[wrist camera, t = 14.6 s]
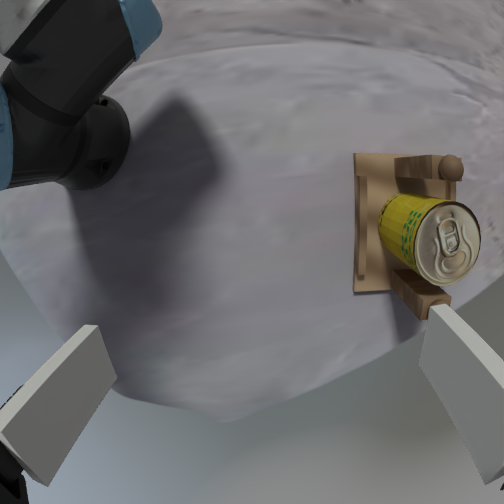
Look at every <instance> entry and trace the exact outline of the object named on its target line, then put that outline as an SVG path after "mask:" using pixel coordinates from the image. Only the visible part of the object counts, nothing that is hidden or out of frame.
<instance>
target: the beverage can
mask: <svg viewBox="0 0 504 504" xmlns="http://www.w3.org/2000/svg"><path fill="white" fill-rule="evenodd" d="M378 233H379V237H380V240H381V242H382V243H383V245H384V246H385V247H386V248H387V249H388V250H389V251H390V252H391V253H392V254H394V255H395V256H396V257H397V258H399V259H400V260H401V261H403V262H404V263H405V264H406V265H408V266H409V267H410V268H412V269H413V270H414V271H415V272H417V273H418V274H419V275H420V276H422V277H423V278H424V279H425V280H426V281H428V282H430V283H432V284H433V285H437V286H449V285H453V284H455V283H457V282H459V281H460V280H461V279H463V278H464V277H465V276H466V275H467V274H468V273H469V271H470V270H471V269H472V268H473V266H474V264H475V262H476V260H477V257H478V254H479V250H480V243H481V234H480V227H479V224H478V221H477V219H476V217H475V215H474V214H473V212H472V211H471V210H470V209H469V208H468V207H466V206H465V205H464V204H461V203H458V202H455V201H451V200H446V199H441V198H437V197H432V196H427V195H422V194H416V193H411V192H402V193H399V194H396V195H394V196H393V197H391V198H390V199H389V200H388V201H387V202H386V203H385V204H384V206H383V208H382V210H381V212H380V214H379V219H378Z"/></svg>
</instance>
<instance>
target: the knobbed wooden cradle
mask: <svg viewBox="0 0 504 504" xmlns="http://www.w3.org/2000/svg"><path fill="white" fill-rule="evenodd" d="M353 155H354V181H355V247H354V274H353V290H354V292H360V291H377V290H392V289H393V290H394V291H395V292H396V293H397V294H398V296H399V297H400V298H401V299H402V300H403V301H404V302H405V303H406V305H407V306H408V307H409V308H410V309H411V310H412V312H413V313H414V314H415V315H416V316H417V317H418V319H419V320H427V319H428V316H429V310H430V306H435V305H441V304H447V305H448V306H449V307H450V303H451V298H452V297H451V296H450V295H448V294H447V293H446V292H445V291H443V290H442V289H441V288H440V287H439V286H437V285H433V284H432V283H430V282H428V281H426V280H425V279H424V278H423V277H422V276H420V275H419V274H418V273H417V272H415V271H414V270H413V269H412V268H410V267H409V266H408V265H406V264H405V263H404V262H403V261H401V260H400V259H399V258H397V257H396V256H395V255H394V254H392V253H391V252H390V251H389V250H388V249H387V248H386V247H385V246H384V245H383V243H382V242H381V240H380V237H379V233H378V219H379V214H380V212H381V210H382V208H383V206H384V204H385V203H386V202H387V201H388V200H389V199H390V198H391V197H393V196H394V195H396V194H399V193H402V192H411V193H416V194H422V195H427V196H432V197H437V198H441V199H446V200H451V201H455V202H456V181H462V176H463V172H464V168H463V164H462V162H461V158H458V157H456V156H454V155H446V156H438V155H423V156H411V155H396V154H376V153H353Z"/></svg>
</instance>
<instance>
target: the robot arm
mask: <svg viewBox="0 0 504 504" xmlns="http://www.w3.org/2000/svg"><path fill="white" fill-rule="evenodd" d="M161 32H162V20H161V17H160V14H159V12H158V10H157V9H156V7H155V5H154V4H153V2H152V1H151V0H0V53H1V54H2V55H3V56H5V57H7V58H9V59H11V62H10V64H9V65H8V66H7V68H6V69H5V71H4V72H3V74H2V75H1V77H0V191H2V190H5V189H9V188H14V187H20V186H26V185H32V184H38V183H45V182H52V181H54V182H56V183H59V184H61V185H63V186H66V187H68V188H71V189H75V190H86V189H92V188H96V187H99V186H101V185H103V184H104V183H106V182H107V181H109V180H110V179H111V178H112V177H113V176H114V175H115V173H116V172H117V171H118V169H119V168H120V166H121V164H122V162H123V160H124V158H125V155H126V152H127V149H128V144H129V124H128V119H127V116H126V114H125V112H124V110H123V108H122V107H121V106H120V104H119V103H118V102H116V101H115V100H114V99H112V98H110V97H108V96H105V95H102V94H103V93H104V92H105V91H106V90H107V88H108V87H109V86H110V85H111V84H112V83H113V82H114V81H115V80H116V79H117V78H118V77H119V76H120V75H121V74H122V73H123V72H124V71H125V70H126V69H127V68H128V67H129V66H130V65H131V64H132V63H133V62H134V61H135V62H136V61H137V60H138V59H139V58H140V55H141V54H142V53H143V52H144V51H145V50H146V49H147V48H148V47H149V46H150V45H151V44H152V43H153V42H154V41H155V40H156V39H157V38H158V37H159V36H160V34H161ZM419 365H420V367H421V368H422V370H423V372H424V373H425V375H426V376H427V378H428V380H429V382H430V383H431V385H432V387H433V388H434V390H435V392H436V393H437V395H438V397H439V398H440V400H441V402H442V403H443V405H444V407H445V409H446V410H447V412H448V414H449V416H450V417H451V419H452V421H453V423H454V424H455V427H456V428H457V430H458V432H459V434H460V435H461V438H462V439H463V441H464V443H465V445H466V447H467V449H468V451H469V453H470V455H471V457H472V459H473V461H474V463H475V465H476V467H477V469H478V471H479V473H480V475H481V477H482V479H483V482H484V484H485V485H487V484H489V483H491V482H492V481H494V480H496V479H498V478H500V477H501V476H503V475H504V361H503V360H502V359H501V358H500V357H499V356H498V355H497V354H496V353H495V352H494V351H493V349H491V348H490V346H489V345H487V343H486V342H485V341H484V340H483V339H482V338H481V337H480V336H479V335H478V334H477V333H476V332H475V331H474V330H473V329H472V328H471V327H470V326H469V325H468V324H467V323H466V322H465V321H464V320H462V318H460V317H459V316H458V315H457V314H456V313H455V312H454V311H453V310H452V309H451V308H450V307H449V306H448V305H447V304H441V305H435V306H430V310H429V316H428V322H427V327H426V333H425V338H424V343H423V347H422V352H421V356H420V361H419ZM116 379H117V375H116V373H115V370H114V368H113V365H112V363H111V360H110V358H109V355H108V352H107V349H106V347H105V344H104V341H103V338H102V335H101V332H100V329H99V326H98V325H84V326H83V327H82V328H80V329H79V330H78V331H77V332H76V333H75V334H74V335H73V336H72V337H71V338H70V339H69V340H68V341H67V342H66V343H65V344H64V345H63V346H62V347H61V348H60V349H59V350H58V351H57V352H56V353H55V354H54V355H53V356H52V357H51V358H50V359H49V360H48V361H47V362H46V363H45V364H44V365H43V366H42V367H41V368H40V369H39V370H38V371H37V372H36V373H35V374H34V375H33V376H32V377H31V378H30V379H29V380H28V381H27V382H26V383H25V384H24V385H22V386H20V387H19V388H18V389H17V390H16V392H15V393H14V394H13V396H11V397H10V398H9V399H8V400H7V403H4V404H3V405H2V407H1V408H0V504H29V501H28V495H27V488H26V481H25V478H24V476H23V475H22V474H21V472H22V471H23V470H25V471H26V472H27V473H28V475H29V476H30V477H31V478H32V479H33V480H35V481H37V482H39V483H41V484H43V485H45V486H47V487H48V486H49V484H50V482H51V481H52V479H53V478H54V476H55V474H56V473H57V471H58V469H59V468H60V466H61V464H62V463H63V461H64V459H65V458H66V456H67V455H68V453H69V451H70V450H71V448H72V447H73V445H74V443H75V442H76V440H77V439H78V437H79V436H80V434H81V432H82V431H83V429H84V427H85V426H86V425H87V423H88V421H89V420H90V418H91V417H92V415H93V414H94V412H95V411H96V409H97V408H98V406H99V405H100V403H101V401H102V400H103V398H104V397H105V395H106V394H107V392H108V391H109V389H110V388H111V386H112V385H113V384H114V382H115V381H116ZM503 489H504V484H503V485H502V487H501V489H500V490H503Z"/></svg>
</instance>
